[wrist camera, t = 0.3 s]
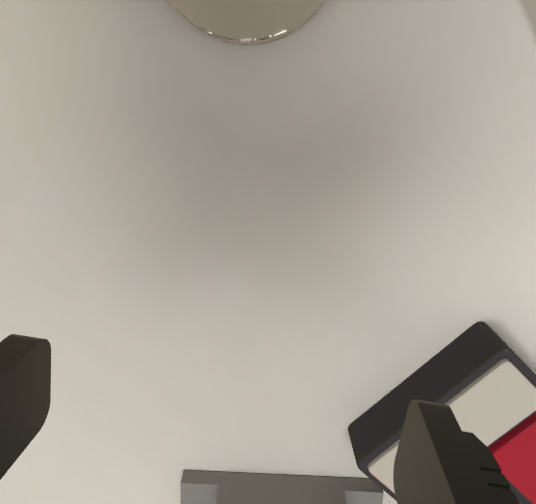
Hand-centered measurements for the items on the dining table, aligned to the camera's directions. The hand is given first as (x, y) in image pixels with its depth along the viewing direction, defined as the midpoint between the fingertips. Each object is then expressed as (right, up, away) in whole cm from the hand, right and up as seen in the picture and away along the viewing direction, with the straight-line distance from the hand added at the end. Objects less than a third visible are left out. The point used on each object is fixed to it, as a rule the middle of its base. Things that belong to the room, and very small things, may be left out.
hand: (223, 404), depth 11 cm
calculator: (+15, -9, +22) cm, 28 cm away
